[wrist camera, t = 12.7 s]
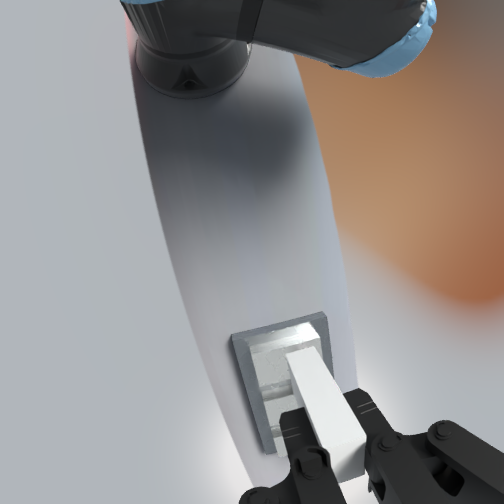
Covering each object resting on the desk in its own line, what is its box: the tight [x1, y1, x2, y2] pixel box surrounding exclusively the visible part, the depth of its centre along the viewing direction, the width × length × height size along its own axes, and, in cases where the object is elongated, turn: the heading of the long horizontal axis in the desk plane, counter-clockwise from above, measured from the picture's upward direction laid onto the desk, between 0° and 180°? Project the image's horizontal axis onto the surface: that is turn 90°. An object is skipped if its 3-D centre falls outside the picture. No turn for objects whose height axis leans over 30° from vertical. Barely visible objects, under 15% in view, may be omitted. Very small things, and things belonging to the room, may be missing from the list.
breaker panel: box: [232, 312, 334, 457], centre depth 39 cm, size 24×13×10 cm, turn 12°
